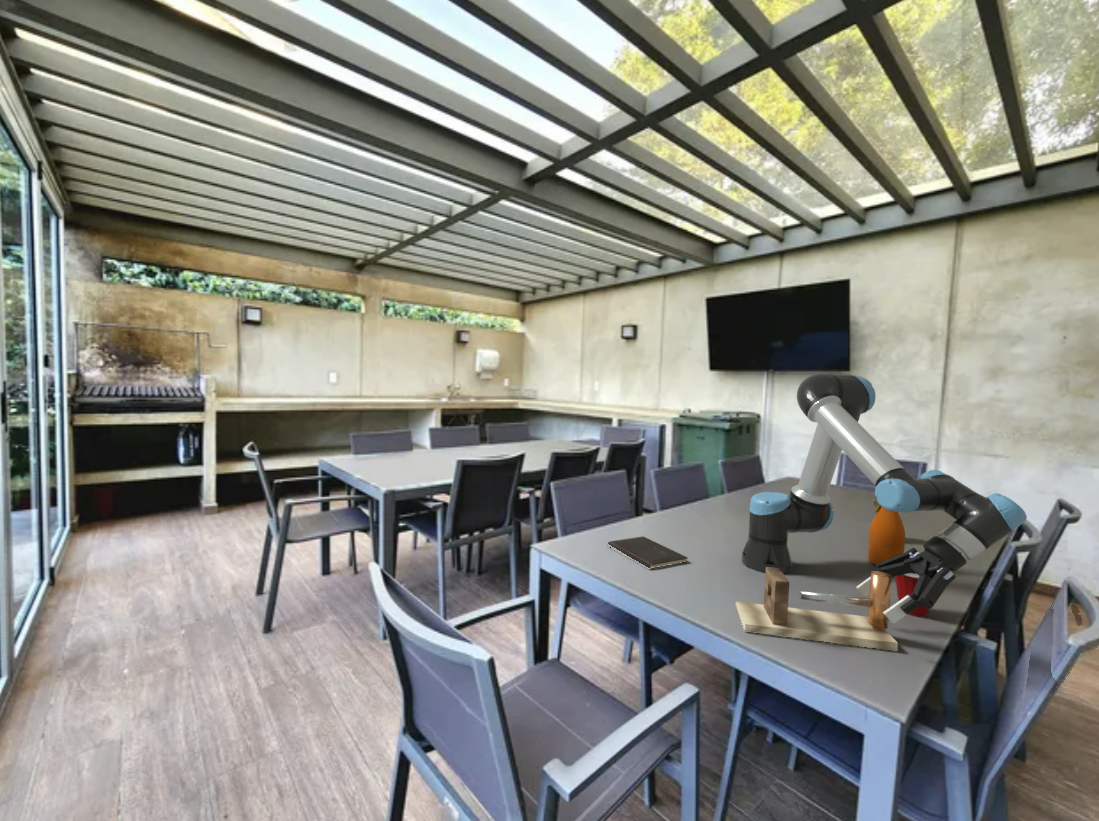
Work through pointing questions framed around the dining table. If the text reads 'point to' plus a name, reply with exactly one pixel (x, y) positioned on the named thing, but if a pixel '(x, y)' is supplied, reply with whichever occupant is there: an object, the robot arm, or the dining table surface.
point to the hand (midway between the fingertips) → (873, 604)
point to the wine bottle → (885, 536)
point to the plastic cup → (909, 591)
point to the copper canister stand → (807, 619)
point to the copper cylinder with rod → (863, 599)
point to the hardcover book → (647, 552)
